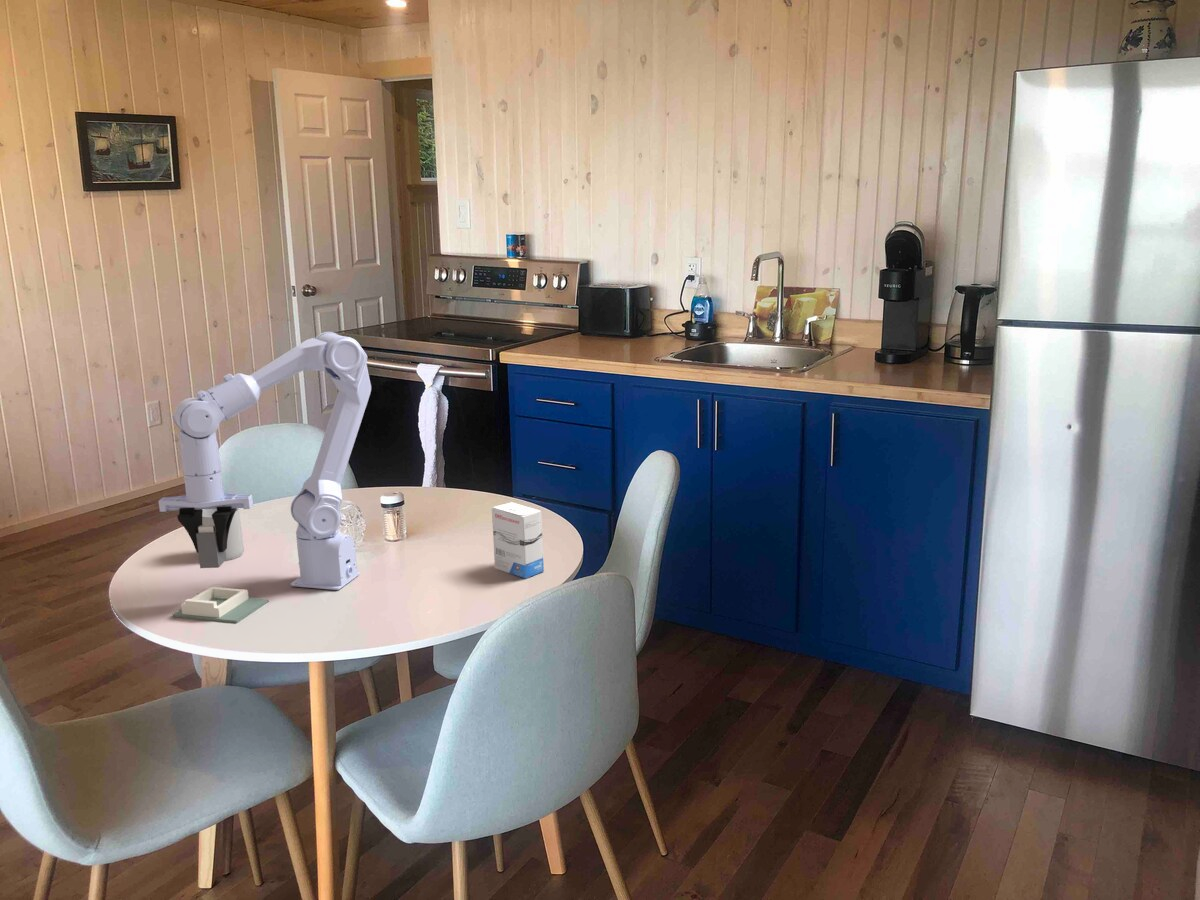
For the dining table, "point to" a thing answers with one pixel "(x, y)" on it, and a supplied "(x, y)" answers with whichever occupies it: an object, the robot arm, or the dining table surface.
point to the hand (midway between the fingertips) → (211, 550)
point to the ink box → (518, 539)
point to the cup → (234, 535)
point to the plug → (209, 547)
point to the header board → (220, 605)
